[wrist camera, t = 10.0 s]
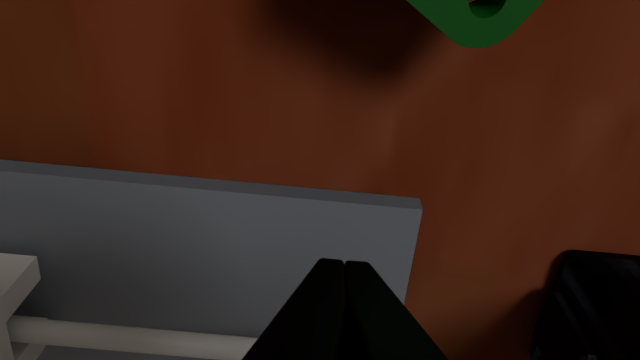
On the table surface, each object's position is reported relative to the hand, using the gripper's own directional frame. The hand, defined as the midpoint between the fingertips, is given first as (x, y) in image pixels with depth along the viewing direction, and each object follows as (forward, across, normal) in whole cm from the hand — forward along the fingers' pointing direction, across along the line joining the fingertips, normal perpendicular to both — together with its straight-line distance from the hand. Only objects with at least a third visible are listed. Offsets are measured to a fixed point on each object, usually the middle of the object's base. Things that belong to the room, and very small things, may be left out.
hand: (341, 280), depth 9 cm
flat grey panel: (+13, +9, +11) cm, 19 cm away
